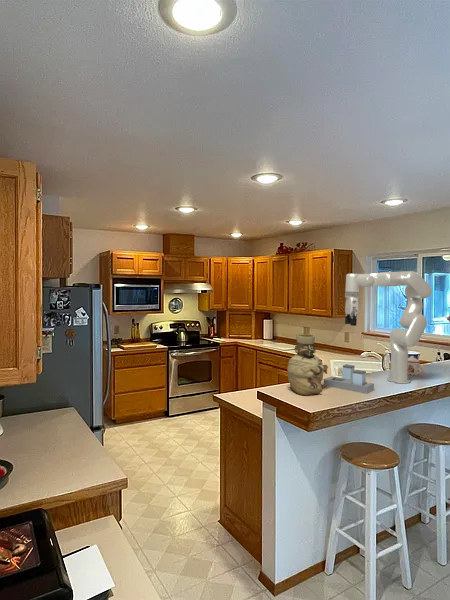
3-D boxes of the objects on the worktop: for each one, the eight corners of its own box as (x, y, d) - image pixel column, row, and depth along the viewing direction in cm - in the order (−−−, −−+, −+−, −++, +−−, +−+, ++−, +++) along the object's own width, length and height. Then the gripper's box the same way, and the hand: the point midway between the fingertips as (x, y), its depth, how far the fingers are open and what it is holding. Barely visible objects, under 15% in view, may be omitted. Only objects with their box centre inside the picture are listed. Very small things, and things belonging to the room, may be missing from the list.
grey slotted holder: (331, 384, 226) (332, 375, 226) (373, 392, 211) (374, 383, 210) (323, 388, 219) (323, 378, 219) (366, 396, 203) (366, 386, 203)
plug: (345, 381, 232) (346, 364, 232) (354, 382, 229) (354, 365, 229) (342, 382, 229) (342, 365, 228) (350, 384, 225) (351, 366, 225)
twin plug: (356, 388, 214) (356, 369, 214) (365, 389, 211) (366, 371, 211) (352, 389, 211) (353, 371, 210) (361, 391, 207) (362, 372, 207)
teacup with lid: (401, 373, 260) (401, 355, 260) (409, 371, 265) (409, 354, 265) (418, 376, 250) (419, 358, 250) (426, 375, 255) (427, 357, 255)
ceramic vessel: (327, 398, 199) (329, 338, 198) (285, 394, 205) (286, 336, 203) (327, 388, 218) (328, 334, 217) (288, 385, 223) (289, 332, 222)
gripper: (363, 295, 219) (362, 326, 219) (353, 295, 236) (352, 323, 237) (350, 295, 219) (348, 326, 219) (340, 294, 236) (339, 323, 237)
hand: (350, 324), depth 228 cm, fingers open, 9 cm apart
